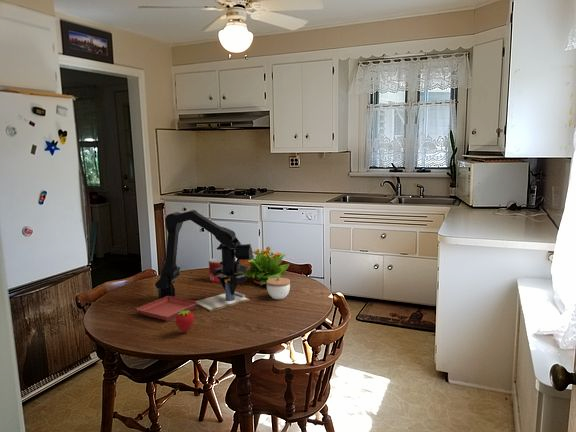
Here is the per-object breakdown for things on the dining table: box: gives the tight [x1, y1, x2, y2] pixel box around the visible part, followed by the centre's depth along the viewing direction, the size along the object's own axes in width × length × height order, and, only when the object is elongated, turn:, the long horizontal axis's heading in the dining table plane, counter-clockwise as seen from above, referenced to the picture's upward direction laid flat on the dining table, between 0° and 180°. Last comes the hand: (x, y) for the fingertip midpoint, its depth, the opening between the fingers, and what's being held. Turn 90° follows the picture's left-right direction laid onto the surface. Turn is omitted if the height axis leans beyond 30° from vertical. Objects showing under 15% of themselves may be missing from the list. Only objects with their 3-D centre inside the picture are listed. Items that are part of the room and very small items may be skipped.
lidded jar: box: [265, 276, 291, 300], centre depth 199 cm, size 11×11×9 cm
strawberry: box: [175, 307, 195, 334], centre depth 162 cm, size 6×8×10 cm
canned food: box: [208, 257, 222, 284], centre depth 227 cm, size 8×8×11 cm
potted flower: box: [238, 246, 290, 286], centre depth 224 cm, size 25×24×18 cm
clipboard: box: [194, 290, 251, 313], centre depth 196 cm, size 20×15×2 cm
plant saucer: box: [136, 296, 198, 322], centre depth 184 cm, size 18×18×3 cm
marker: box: [224, 278, 235, 301], centre depth 195 cm, size 4×4×9 cm
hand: (229, 293), depth 195 cm, fingers closed on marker, 4 cm apart
